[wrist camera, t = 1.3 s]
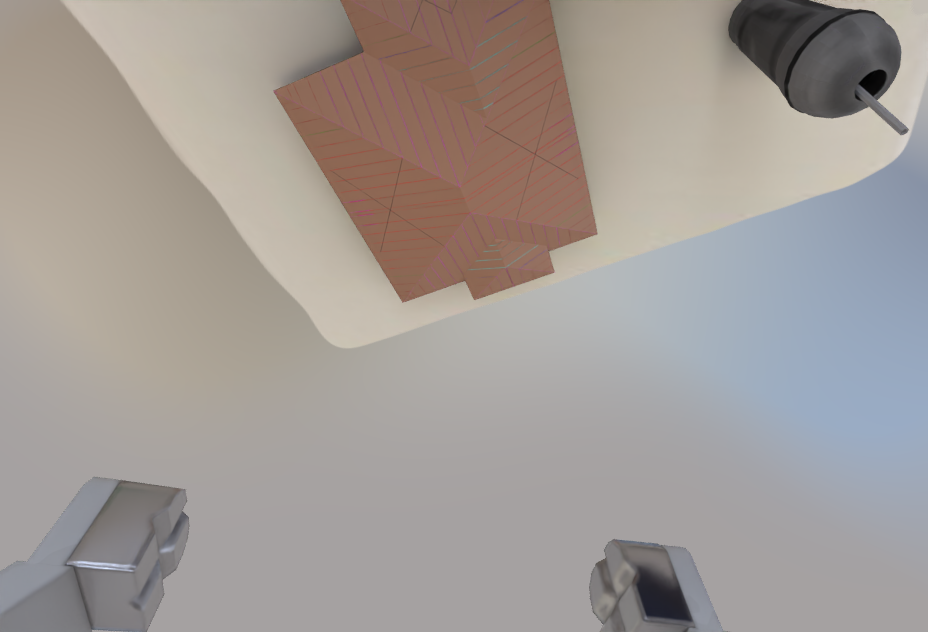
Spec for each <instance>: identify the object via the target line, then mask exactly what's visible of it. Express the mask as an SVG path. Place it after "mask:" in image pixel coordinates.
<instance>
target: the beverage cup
mask: <svg viewBox="0 0 928 632" xmlns="http://www.w3.org/2000/svg"><path fill="white" fill-rule="evenodd" d="M729 35H730V38H731V39H732V41H733V42H734V43H736V45H737V46H738V48H739V49H740V50H741V51H742V52H743V53H744V54H745V55H746V56H747V57H748V58H749V59H750V60H751V61H752V62H753V63H754V64H755V65H756V66H757V67H758V68H759V69H760V70H761V71H763V72H764V73H765V74H766V75H767V76H768V77H769V78H770V79H771V80H772V81H773V82H774V83H775V84H776V85H777V86H778V87H779V89H780V91H781V92H782V94H783V95H784V97H785V98H786V100H787V101H788V103H789V105H790V106H791V107H792V108H794V109H795V110H797V111H799V112H801V113H806V114H808V115H811V116H814V117H823V118H838V117H843V116H848V115H852V114H854V113H857V112H859V111H861V110H863V109H865V108H867V107H868V106H869V107H870V108H871V109H872V110H874V111H875V112H876V113H877V114H878V115H879V116H880V117H881V118H882V119H883V120H885V121H886V122H887V123H888V124H889V125H890V126H891V127H892V128H893V129H894V130H896V131H897V132H898V133H899V134H900V135H904V134H906V133H907V132H908V130H909V129H908V128H907V127H906V126H905V125H904V124H903V123H902V122H900V121H899V120H898V119H897V118H896V117H895V116H894V115H893V114H891V113H890V112H889V111H888V110H887V109H886V108H885V107H884V106H882V105H881V104H880V103H879V102H878V101H877V100H878V99H879V98H880V97H881V96H882V95H883V94H884V93H885V92H886V91H887V90H888V88H889V87H890V85H891V84H892V82H893V81H894V79H895V77H896V75H897V72H898V70H899V67H900V60H901V46H900V43H899V40H898V37H897V35H896V33H895V31H894V29H893V28H892V27H891V26H890V25H888V24H887V23H886V22H885V20H884V19H883V18H881V17H880V16H879V15H878V14H876V13H875V12H874V11H868V10H861V9H859V10H853V9H843V8H835V7H831V6H828V5H824V4H820V3H817V2H813V1H810V0H743V1H742V2H741V3H740V4H739V5H738V6H737V8H736V9H735V11H734V12H733V15H732V17H731V19H730V24H729Z"/></svg>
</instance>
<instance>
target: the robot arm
mask: <svg viewBox="0 0 928 632" xmlns="http://www.w3.org/2000/svg"><path fill="white" fill-rule="evenodd" d="M186 502H187V497H186V490H185V489H180V488H173V487H165V486H159V485H152V484H145V483H137V482H130V481H123V480H116V479H108V478H100V477H93V478H92V479H91V480H89V481H88V482H87V483H85V484H84V485H83V486H82V488H81V489H80V491H79V492H78V493H77V494H76V496H75V497H74V499H73V500H72V501H71V503H70V504H69V505H68V507H67V508H66V509H65V511H64V512H63V513H62V515H61V516H60V518H59V519H58V520H57V522H56V523H55V524H54V526H53V527H52V528H51V530H50V531H49V532H48V534H47V535H46V536H45V538H44V540H43V541H42V542H41V543H40V545H39V546H38V547H37V549H36V550H35V552H34V553H33V554H32V556H31V557H30V558H29V560H28V561H27V562H24V561H16V562H15V563H13V564H11V565H10V566H8V567H6V568H5V569H3V570H1V571H0V632H92V630H108V631H125V632H147V630H148V627H149V626H150V624H151V621H152V619H153V617H154V615H155V613H156V611H157V609H158V607H159V604H160V602H161V600H162V598H163V596H164V588H163V579H164V578H166V577H167V576H168V575H170V574H171V573H172V572H174V571H175V570H176V568H177V566H178V564H179V562H180V560H181V557H182V555H183V552H184V549H185V546H186V542H187V539H188V533H189V517H188V516H187V515H186V514H185V513H184V512H183V511H182V510H183V508H184V506H185V504H186ZM604 552H605V555H606V558H605V559H603V560H601V561H599V562H598V563H596V565H595V567H594V569H593V571H592V573H591V580H590V587H589V588H590V600H591V605H592V609H593V613H594V614H595V615H596V616H597V618H598V619H599V620H600V621H601V623H602V624H603V626H602V628H601V631H600V632H728V631H723V629H722V627H721V625H720V622H719V620H718V617H717V615H716V613H715V610H714V608H713V606H712V603H711V601H710V598H709V596H708V594H707V591H706V589H705V587H704V584H703V582H702V580H701V577H700V575H699V573H698V570H697V568H696V566H695V563H694V561H693V558H692V556H691V554H690V553H689V551H687V549H686V548H683V547H675V546H665V545H659V544H654V543H644V542H635V541H625V540H615V539H613V540H612V541H610V542H608V544H607V545H606V547H605V549H604Z"/></svg>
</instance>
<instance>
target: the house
mask: <svg viewBox="0 0 928 632" xmlns="http://www.w3.org/2000/svg"><path fill="white" fill-rule="evenodd" d="M340 1H341V3H342V5H343V7H344V9H345V11H346V14H347V16H348V18H349V20H350V22H351V24H352V27H353V29H354V31H355V33H356V35H357V37H358V39H359V42H360V44H361V46H362V48H363V50H364V52H362V53H360V54H358V55H355V56H353V57H351V58H348V59H346V60H344V61H341V62H339V63H337V64H335V65H332V66H330V67H328V68H325V69H323V70H321V71H318V72H316V73H314V74H311V75H309V76H307V77H304V78H302V79H300V80H298V81H295V82H293V83H291V84H288V85H286V86H284V87H281V88H279V89H277V90H274V93H275V95H276V96H277V98H278V100H279V101H280V103H281V104H282V106H283V108H284V109H285V111H286V113H287V114H288V116H289V118H290V119H291V121H292V122H293V124H294V126H295V127H296V129H297V131H298V132H299V134H300V136H301V137H302V139H303V140H304V142H305V144H306V145H307V147H308V149H309V150H310V152H311V153H312V155H313V157H314V158H315V160H316V162H317V163H318V165H319V167H320V168H321V170H322V171H323V173H324V175H325V176H326V178H327V180H328V181H329V183H330V185H331V186H332V188H333V189H334V191H335V193H336V194H337V196H338V198H339V199H340V201H341V203H342V204H343V206H344V207H345V209H346V211H347V212H348V214H349V216H350V217H351V219H352V220H353V222H354V224H355V225H356V227H357V229H358V230H359V232H360V234H361V235H362V237H363V238H364V240H365V242H366V243H367V245H368V247H369V248H370V250H371V252H372V253H373V255H374V256H375V258H376V260H377V261H378V263H379V265H380V266H381V268H382V270H383V271H384V273H385V274H386V276H387V278H388V279H389V281H390V283H391V284H392V286H393V287H394V289H395V291H396V292H397V294H398V296H399V297H400V299H401V301H402V302H406V301H409V300H412V299H414V298H417V297H420V296H423V295H426V294H429V293H431V292H434V291H437V290H440V289H443V288H446V287H448V286H451V285H454V284H457V283H460V282H463V281H466V283H467V285H468V288H469V290H470V292H471V294H472V296H473V298H474V300H476V299H479V298H482V297H485V296H488V295H490V294H493V293H496V292H499V291H502V290H505V289H508V288H511V287H514V286H516V285H519V284H522V283H525V282H528V281H531V280H534V279H537V278H540V277H542V276H545V275H548V274H551V273H554V269H553V266H552V262H551V259H550V256H549V252H548V251H551V250H553V249H556V248H559V247H562V246H565V245H568V244H570V243H573V242H576V241H579V240H582V239H585V238H588V237H590V236H593V235H596V234H597V229H596V224H595V219H594V215H593V210H592V205H591V200H590V195H589V191H588V186H587V181H586V176H585V171H584V166H583V162H582V157H581V152H580V147H579V142H578V138H577V133H576V128H575V123H574V118H573V113H572V109H571V104H570V99H569V94H568V89H567V85H566V80H565V75H564V70H563V65H562V61H561V56H560V51H559V46H558V41H557V36H556V32H555V27H554V22H553V17H552V12H551V8H550V3H549V0H340Z"/></svg>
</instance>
